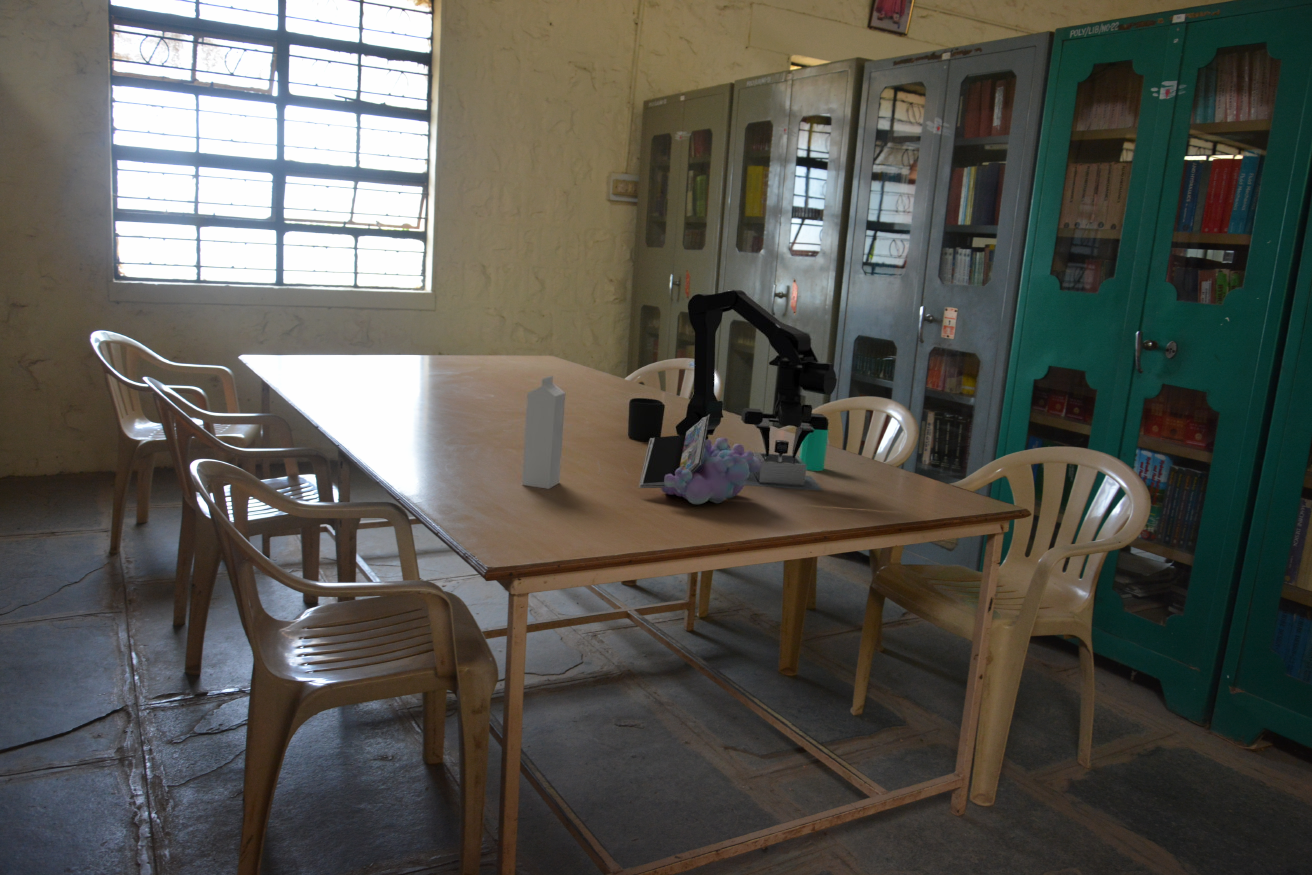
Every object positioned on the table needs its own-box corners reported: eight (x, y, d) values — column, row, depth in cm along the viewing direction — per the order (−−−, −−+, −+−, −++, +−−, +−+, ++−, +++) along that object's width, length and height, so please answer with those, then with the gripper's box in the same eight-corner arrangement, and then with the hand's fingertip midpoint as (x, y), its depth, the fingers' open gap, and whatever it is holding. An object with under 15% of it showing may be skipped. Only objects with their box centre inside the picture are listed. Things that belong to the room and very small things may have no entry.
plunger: (765, 479, 210) (769, 443, 208) (760, 472, 216) (764, 437, 215) (795, 482, 210) (800, 445, 208) (790, 475, 217) (794, 439, 215)
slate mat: (742, 486, 206) (742, 484, 206) (734, 471, 220) (734, 470, 220) (823, 492, 207) (823, 490, 207) (810, 477, 221) (810, 475, 221)
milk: (521, 485, 190) (527, 377, 186) (532, 479, 196) (538, 373, 192) (549, 489, 189) (556, 380, 185) (560, 482, 195) (566, 377, 191)
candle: (823, 473, 226) (829, 424, 224) (797, 469, 227) (803, 421, 225) (823, 468, 232) (829, 420, 230) (799, 465, 233) (805, 417, 231)
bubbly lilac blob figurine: (783, 488, 187) (761, 404, 192) (702, 492, 174) (680, 402, 178) (718, 516, 202) (699, 438, 207) (638, 522, 189) (620, 438, 193)
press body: (746, 482, 208) (748, 460, 207) (740, 472, 218) (742, 451, 217) (803, 487, 209) (806, 465, 208) (795, 476, 218) (797, 455, 218)
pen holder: (668, 439, 251) (671, 402, 249) (649, 443, 243) (652, 405, 242) (639, 433, 256) (642, 397, 254) (619, 437, 248) (622, 399, 246)
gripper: (751, 390, 201) (744, 461, 204) (838, 396, 202) (829, 467, 205) (744, 382, 212) (737, 450, 215) (826, 389, 213) (818, 456, 216)
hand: (780, 456), depth 212 cm, fingers open, 6 cm apart
